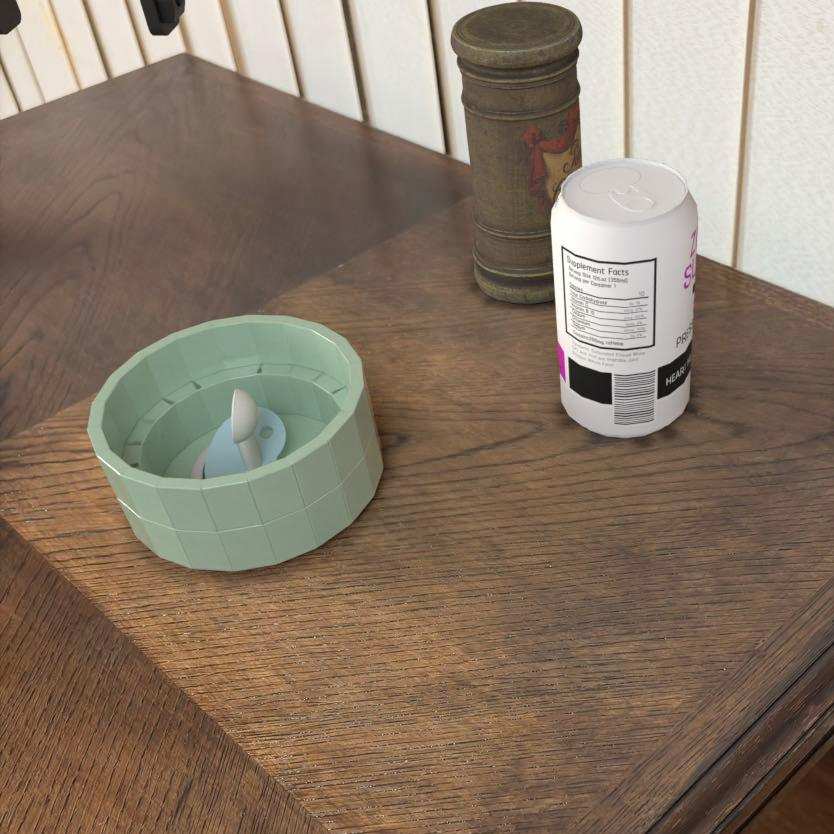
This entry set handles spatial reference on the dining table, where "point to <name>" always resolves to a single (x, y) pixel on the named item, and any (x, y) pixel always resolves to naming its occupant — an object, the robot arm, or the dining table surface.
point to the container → (518, 138)
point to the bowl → (305, 437)
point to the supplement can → (624, 294)
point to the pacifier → (242, 441)
